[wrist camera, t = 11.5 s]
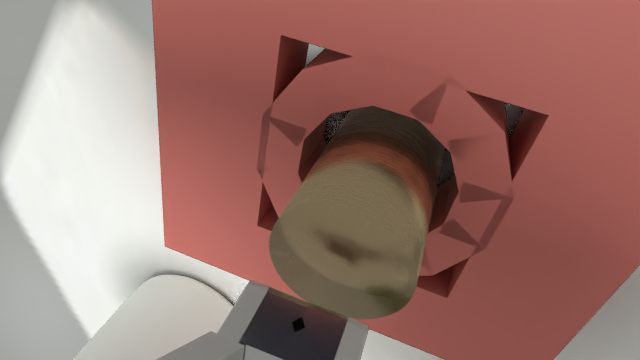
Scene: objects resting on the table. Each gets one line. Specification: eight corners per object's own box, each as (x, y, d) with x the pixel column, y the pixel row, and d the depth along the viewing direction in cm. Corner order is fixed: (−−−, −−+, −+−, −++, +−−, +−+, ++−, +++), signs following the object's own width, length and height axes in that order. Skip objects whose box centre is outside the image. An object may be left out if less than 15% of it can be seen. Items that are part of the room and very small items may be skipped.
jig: (776, 4, 11) (849, 34, 9) (520, 333, 20) (524, 391, 18) (203, -133, 14) (144, -138, 12) (198, 209, 23) (164, 246, 21)
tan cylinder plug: (462, 115, 16) (441, 241, 10) (423, 201, 18) (390, 338, 13) (353, 79, 16) (279, 180, 11) (330, 167, 19) (261, 284, 13)
